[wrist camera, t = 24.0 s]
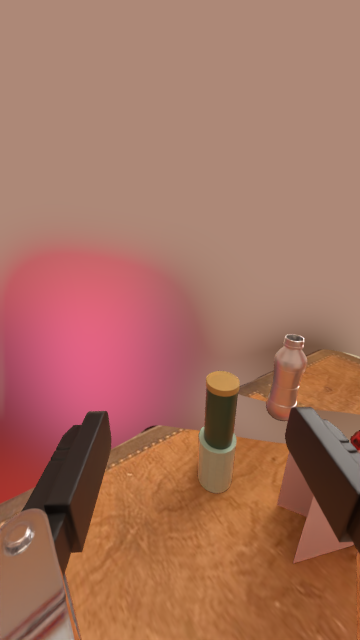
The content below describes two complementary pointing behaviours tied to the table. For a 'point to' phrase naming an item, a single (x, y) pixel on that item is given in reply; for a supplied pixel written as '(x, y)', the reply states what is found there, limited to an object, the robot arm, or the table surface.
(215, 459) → the vase
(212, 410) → the tea tin
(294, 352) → the plastic bottle
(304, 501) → the greeting card
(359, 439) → the red clay folk toy
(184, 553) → the table surface
